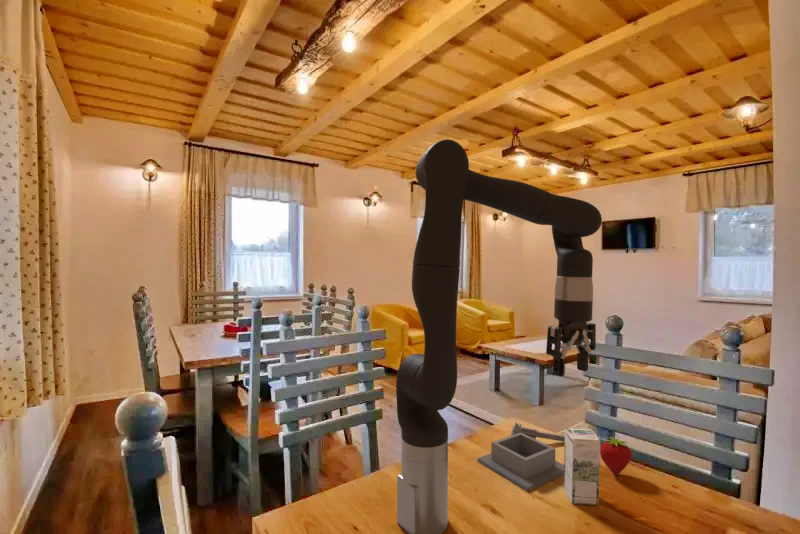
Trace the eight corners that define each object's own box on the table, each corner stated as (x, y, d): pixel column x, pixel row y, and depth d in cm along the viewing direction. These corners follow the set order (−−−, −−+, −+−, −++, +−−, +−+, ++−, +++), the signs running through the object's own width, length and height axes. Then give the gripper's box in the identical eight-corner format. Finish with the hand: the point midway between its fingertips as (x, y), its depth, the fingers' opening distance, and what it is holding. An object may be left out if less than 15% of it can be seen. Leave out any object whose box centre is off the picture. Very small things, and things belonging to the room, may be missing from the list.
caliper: (512, 445, 113) (512, 423, 113) (510, 443, 115) (511, 422, 114) (582, 443, 115) (582, 422, 115) (580, 442, 116) (580, 420, 116)
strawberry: (593, 469, 100) (593, 429, 100) (619, 466, 102) (620, 427, 101) (610, 482, 94) (610, 440, 94) (637, 479, 96) (638, 437, 96)
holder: (527, 491, 91) (527, 468, 91) (477, 461, 104) (477, 441, 104) (570, 471, 99) (570, 449, 99) (519, 445, 113) (519, 427, 113)
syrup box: (589, 490, 91) (590, 427, 91) (599, 507, 85) (600, 439, 85) (563, 489, 92) (564, 426, 91) (571, 505, 86) (572, 438, 85)
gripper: (569, 300, 79) (566, 382, 79) (608, 298, 87) (606, 372, 87) (537, 297, 85) (535, 373, 85) (576, 295, 93) (574, 364, 93)
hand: (571, 372), depth 86 cm, fingers open, 8 cm apart
